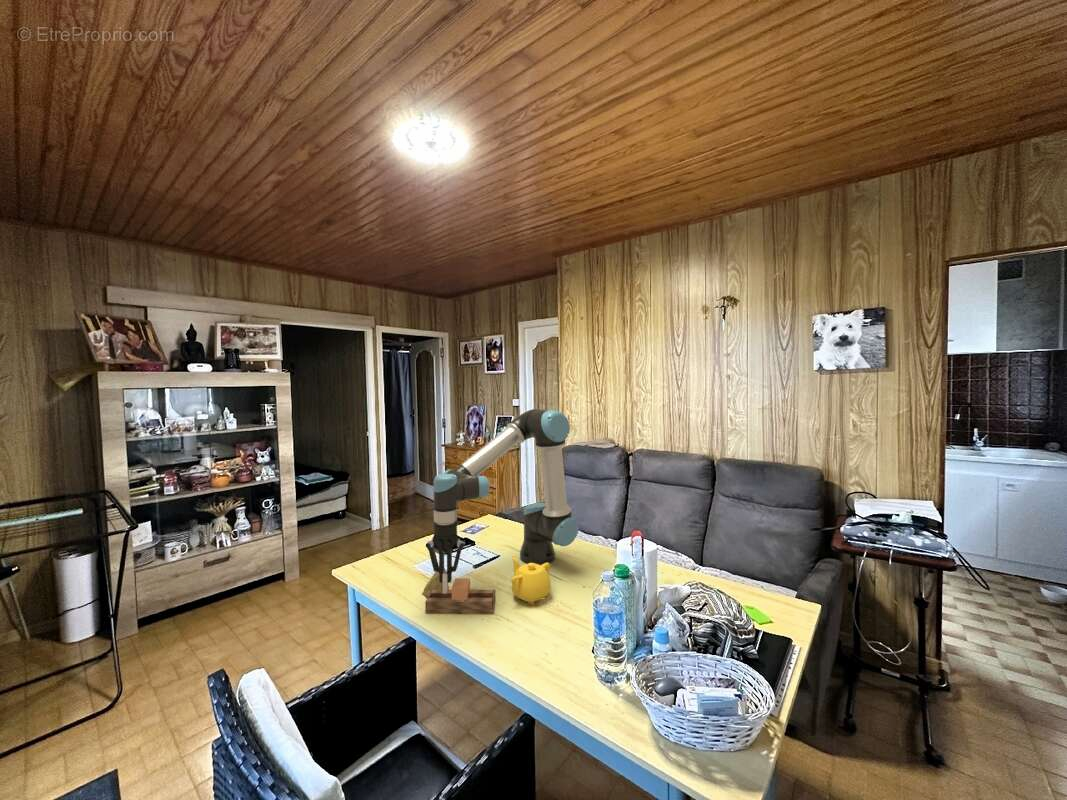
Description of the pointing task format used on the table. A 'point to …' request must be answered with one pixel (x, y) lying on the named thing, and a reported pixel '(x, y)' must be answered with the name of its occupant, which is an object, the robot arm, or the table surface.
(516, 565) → the teapot
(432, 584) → the rock
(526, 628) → the table surface
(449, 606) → the beam
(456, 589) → the orange brown block
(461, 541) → the robot arm
